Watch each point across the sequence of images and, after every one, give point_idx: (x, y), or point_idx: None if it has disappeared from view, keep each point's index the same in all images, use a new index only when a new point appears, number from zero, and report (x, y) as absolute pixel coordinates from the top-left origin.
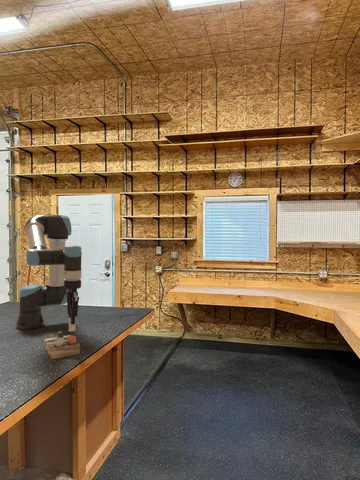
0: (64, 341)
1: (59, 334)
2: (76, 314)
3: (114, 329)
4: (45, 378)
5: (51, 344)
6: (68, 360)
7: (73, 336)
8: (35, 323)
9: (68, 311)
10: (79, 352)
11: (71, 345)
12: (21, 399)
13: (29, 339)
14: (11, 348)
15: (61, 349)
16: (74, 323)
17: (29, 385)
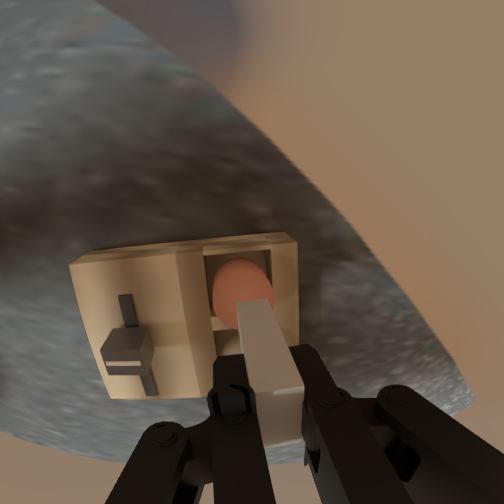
0: (184, 320)
1: (148, 365)
2: (423, 408)
3: (17, 11)
4: (418, 367)
5: (209, 384)
6: (332, 295)
7: (240, 290)
8: None
9: (200, 495)
10: (285, 234)
11: (279, 292)
12: (459, 395)
13: (21, 391)
14: (104, 449)
15: (297, 343)
16: (313, 352)
17: (423, 396)
